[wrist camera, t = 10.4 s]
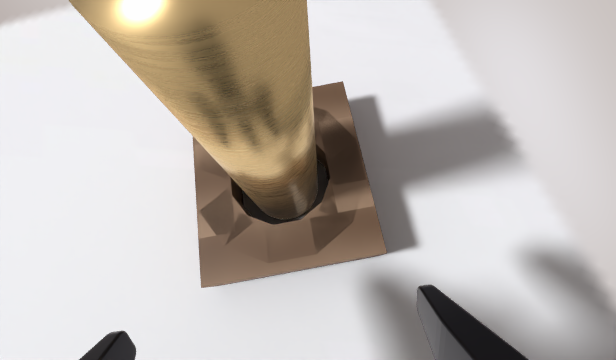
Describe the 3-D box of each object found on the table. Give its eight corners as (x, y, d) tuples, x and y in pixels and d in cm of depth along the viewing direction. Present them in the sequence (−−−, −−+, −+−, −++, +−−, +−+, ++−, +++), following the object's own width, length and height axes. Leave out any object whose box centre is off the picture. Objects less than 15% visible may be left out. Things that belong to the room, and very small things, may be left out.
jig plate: (378, 255, 18) (387, 253, 15) (217, 286, 18) (201, 287, 15) (340, 103, 21) (342, 81, 19) (206, 127, 21) (191, 109, 19)
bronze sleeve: (330, 198, 19) (350, -47, 5) (271, 231, 18) (88, 73, 4) (298, 145, 20) (237, -171, 6) (242, 175, 20) (28, -92, 5)
